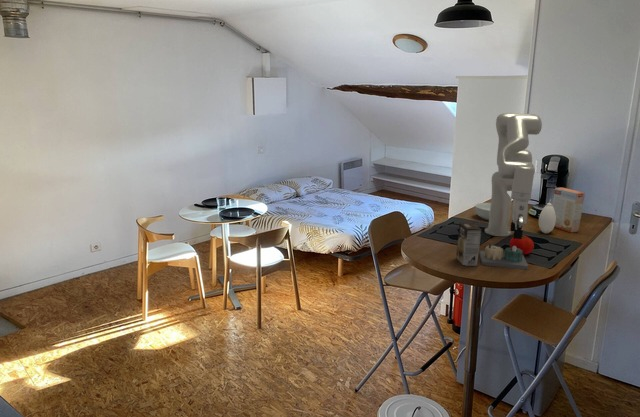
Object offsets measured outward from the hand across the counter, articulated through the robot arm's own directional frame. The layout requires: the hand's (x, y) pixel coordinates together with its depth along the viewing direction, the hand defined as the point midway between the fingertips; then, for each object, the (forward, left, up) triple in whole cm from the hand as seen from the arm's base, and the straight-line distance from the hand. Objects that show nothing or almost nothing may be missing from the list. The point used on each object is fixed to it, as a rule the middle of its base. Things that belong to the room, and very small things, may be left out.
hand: (515, 234), depth 209 cm
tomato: (-12, +5, -12) cm, 18 cm away
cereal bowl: (-69, -4, -12) cm, 70 cm away
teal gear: (+1, 0, -11) cm, 11 cm away
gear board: (+1, -4, -12) cm, 13 cm away
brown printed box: (+6, -19, -12) cm, 23 cm away
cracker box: (-60, +33, -12) cm, 70 cm away
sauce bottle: (-49, +22, -12) cm, 55 cm away
